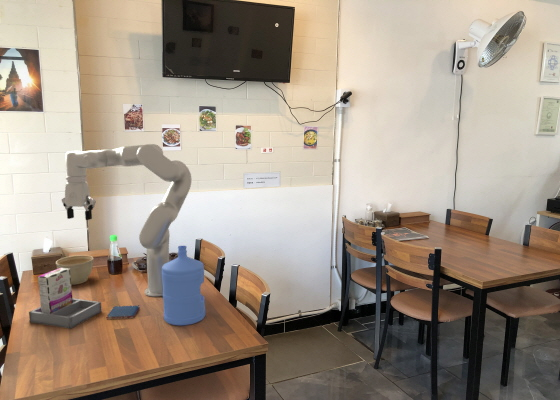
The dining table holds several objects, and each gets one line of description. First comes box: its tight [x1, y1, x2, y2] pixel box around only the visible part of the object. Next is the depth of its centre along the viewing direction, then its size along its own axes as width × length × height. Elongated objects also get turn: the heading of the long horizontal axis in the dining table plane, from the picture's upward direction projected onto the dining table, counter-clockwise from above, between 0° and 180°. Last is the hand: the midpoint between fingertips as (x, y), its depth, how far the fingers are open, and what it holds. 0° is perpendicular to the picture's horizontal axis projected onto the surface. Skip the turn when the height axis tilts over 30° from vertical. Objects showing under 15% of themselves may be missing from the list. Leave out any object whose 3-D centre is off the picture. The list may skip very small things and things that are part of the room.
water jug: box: [162, 245, 206, 326], centre depth 161 cm, size 16×16×28 cm
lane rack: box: [28, 297, 102, 330], centre depth 164 cm, size 19×16×4 cm
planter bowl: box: [55, 254, 94, 286], centre depth 204 cm, size 16×16×11 cm
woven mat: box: [105, 304, 140, 321], centre depth 167 cm, size 10×11×2 cm
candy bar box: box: [37, 268, 73, 314], centre depth 164 cm, size 11×5×16 cm, turn 162°
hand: (79, 218), depth 186 cm, fingers open, 9 cm apart
